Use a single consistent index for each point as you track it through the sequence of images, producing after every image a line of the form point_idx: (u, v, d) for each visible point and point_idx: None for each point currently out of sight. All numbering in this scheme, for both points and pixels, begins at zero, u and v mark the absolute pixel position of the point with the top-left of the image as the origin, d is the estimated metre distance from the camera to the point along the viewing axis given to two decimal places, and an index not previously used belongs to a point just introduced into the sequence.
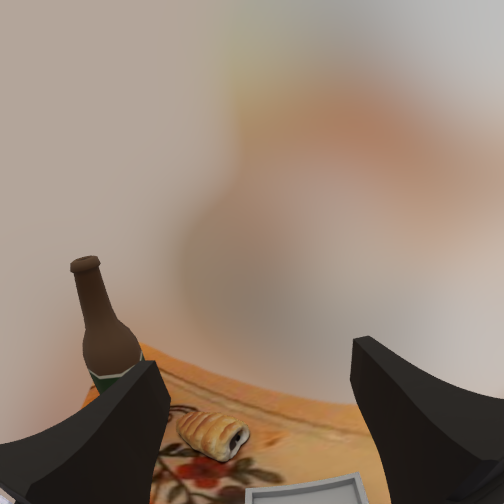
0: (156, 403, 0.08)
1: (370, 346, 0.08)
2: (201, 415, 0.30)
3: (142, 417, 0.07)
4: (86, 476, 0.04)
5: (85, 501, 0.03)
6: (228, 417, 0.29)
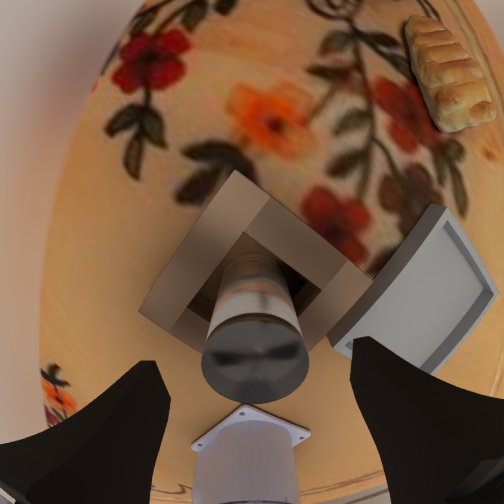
0: (156, 403, 0.08)
1: (370, 346, 0.08)
2: (459, 46, 0.10)
3: (142, 417, 0.07)
4: (86, 476, 0.04)
5: (84, 501, 0.03)
6: (487, 87, 0.11)
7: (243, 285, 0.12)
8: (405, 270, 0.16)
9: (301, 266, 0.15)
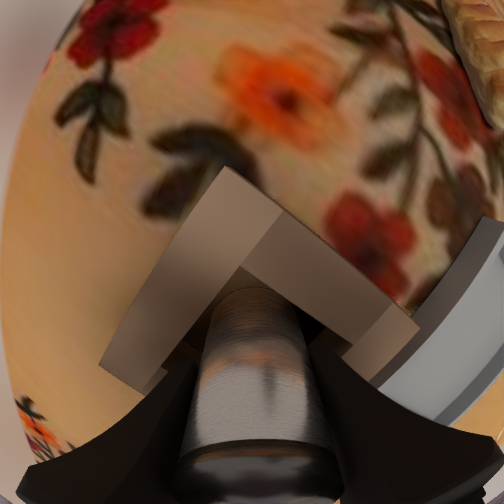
0: None
1: (324, 356, 0.08)
2: None
3: (186, 419, 0.07)
4: (140, 489, 0.04)
5: None
6: None
7: (238, 362, 0.07)
8: (456, 307, 0.10)
9: (327, 315, 0.10)
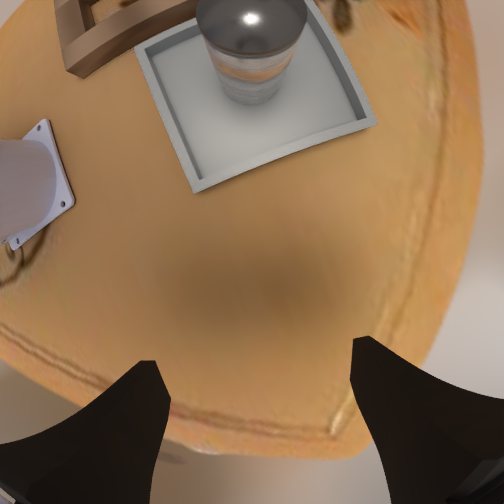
0: (156, 403, 0.08)
1: (370, 346, 0.08)
2: None
3: (142, 417, 0.07)
4: (85, 476, 0.04)
5: (85, 501, 0.03)
6: None
7: None
8: None
9: None
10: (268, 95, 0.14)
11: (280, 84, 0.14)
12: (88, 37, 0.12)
